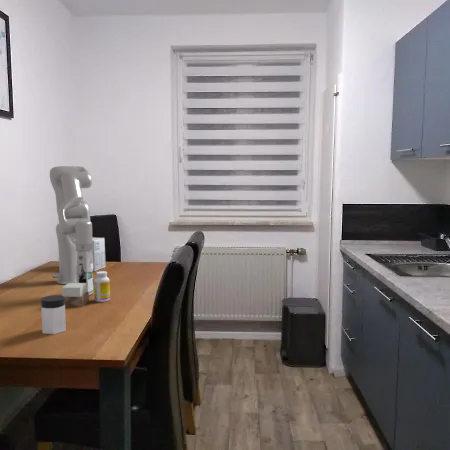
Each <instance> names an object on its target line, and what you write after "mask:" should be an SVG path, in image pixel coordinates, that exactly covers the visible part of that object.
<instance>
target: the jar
mask: <svg viewBox="0 0 450 450" xmlns="http://www.w3.org/2000/svg"><path fill="white" fill-rule="evenodd" d="M40 306H41V325H42V326H41V327H42V328H41V329H42V330H41V331H42V334H45V335H47V334H48V335H57V334H60V333H64V332H66V330H67V329H66V327H67V326H66V307H65V297H64V296H62V295H58V294H57V295H56V294H55V295H54V294H53V295H48V296H44V297H42V298H41V299H40Z"/></svg>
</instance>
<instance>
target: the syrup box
mask: <svg viewBox="0 0 450 450" xmlns="http://www.w3.org/2000/svg"><path fill="white" fill-rule="evenodd" d="M90 267H91V271H89V272H88V273H86V276H85V279H86V283H87V292H89V296H90V295H92V294H95V290H94V271H93V263H92V264H91V266H90ZM82 272H84V271H82ZM83 276H84V274H83ZM76 281H77V283H79V275H78V272H77V265H76Z"/></svg>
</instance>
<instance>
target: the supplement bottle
mask: <svg viewBox="0 0 450 450" xmlns="http://www.w3.org/2000/svg"><path fill="white" fill-rule="evenodd" d="M95 272H96V273H95V276H96V277H95V278H93V282H94V301H95V302H97V303H105V302H108V301H110V300H111V287H110V285H111V283H110V282H111V281H110V280H111V279H110V278H109V277H108V276H107V275H108V271H106V270H105V271H104V270H102V271H101V270H98V271H95Z"/></svg>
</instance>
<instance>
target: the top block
mask: <svg viewBox="0 0 450 450" xmlns="http://www.w3.org/2000/svg"><path fill="white" fill-rule="evenodd" d="M86 292H87V283H68V284H64V285H63V286H62V287H61V296H64V297H81V296H82V295H84V294H85V293H86Z"/></svg>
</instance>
